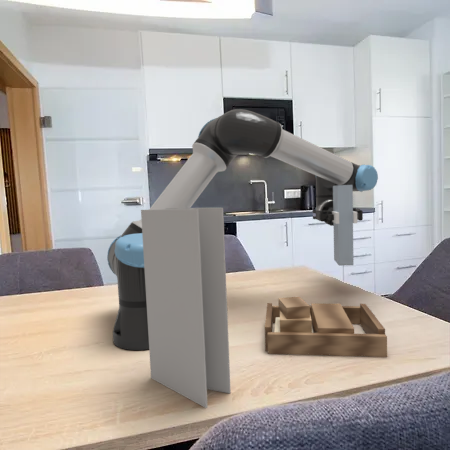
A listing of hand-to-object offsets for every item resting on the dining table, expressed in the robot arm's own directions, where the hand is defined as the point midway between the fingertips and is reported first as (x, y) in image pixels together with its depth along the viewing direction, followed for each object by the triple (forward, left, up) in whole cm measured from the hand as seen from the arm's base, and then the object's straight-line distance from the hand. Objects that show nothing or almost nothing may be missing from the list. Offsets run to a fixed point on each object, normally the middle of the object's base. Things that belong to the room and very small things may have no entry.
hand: (346, 217), depth 87 cm
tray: (-8, -12, -25) cm, 29 cm away
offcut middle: (-13, -12, -23) cm, 29 cm away
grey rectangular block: (0, +5, -12) cm, 13 cm away
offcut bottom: (-14, -12, -26) cm, 32 cm away
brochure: (-32, -34, -25) cm, 53 cm away
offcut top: (-14, -12, -20) cm, 27 cm away
